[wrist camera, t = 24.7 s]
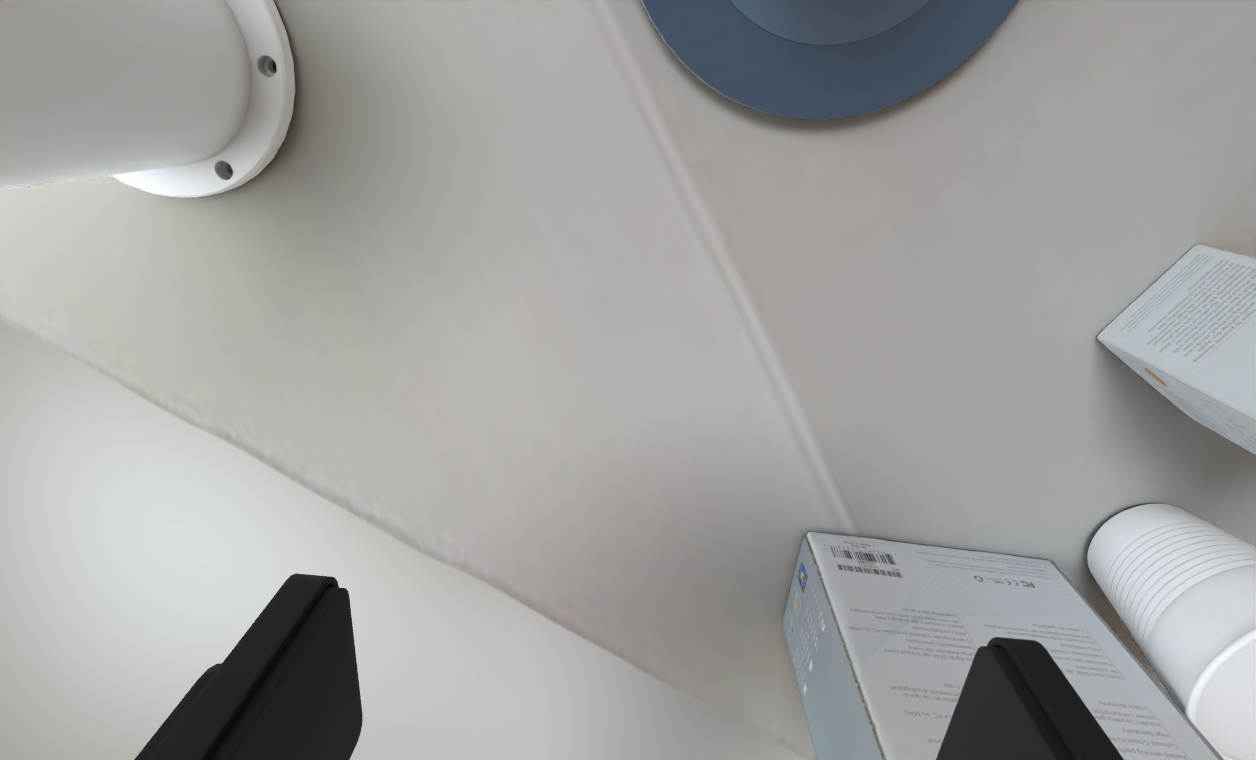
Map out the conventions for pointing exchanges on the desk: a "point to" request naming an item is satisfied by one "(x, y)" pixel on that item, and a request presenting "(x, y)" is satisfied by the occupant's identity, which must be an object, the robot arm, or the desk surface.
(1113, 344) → the small box
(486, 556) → the desk surface
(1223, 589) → the cup
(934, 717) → the hard drive box
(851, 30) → the plate
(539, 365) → the desk surface
